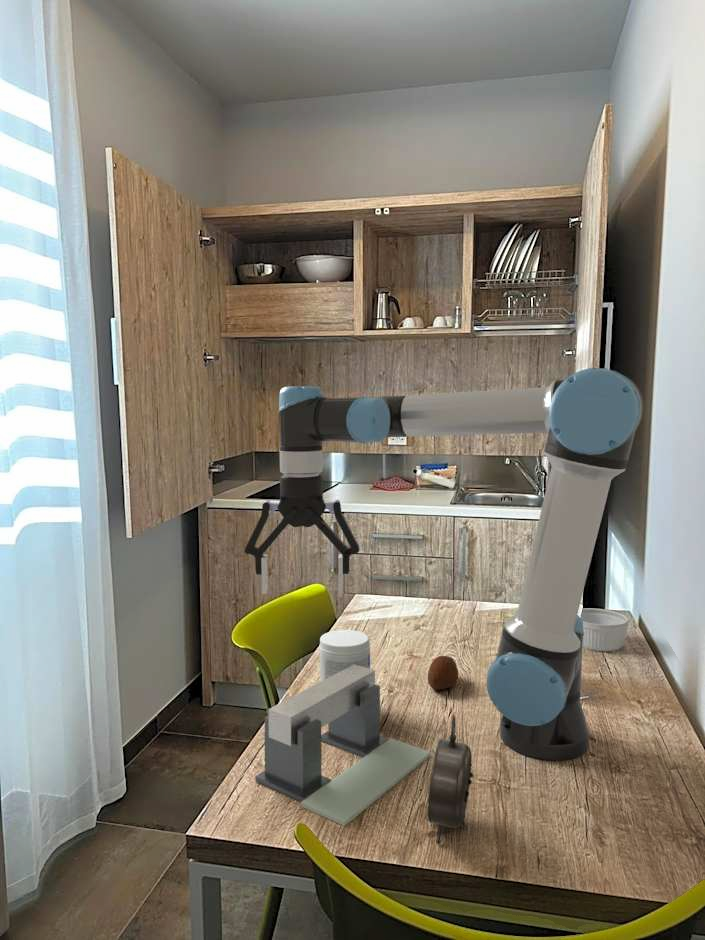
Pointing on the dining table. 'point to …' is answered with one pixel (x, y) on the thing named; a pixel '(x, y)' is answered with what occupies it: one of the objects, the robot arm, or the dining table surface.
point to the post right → (358, 726)
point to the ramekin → (603, 629)
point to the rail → (319, 703)
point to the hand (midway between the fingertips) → (302, 591)
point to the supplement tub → (342, 651)
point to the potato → (442, 673)
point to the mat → (365, 781)
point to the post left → (294, 763)
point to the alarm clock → (449, 783)
